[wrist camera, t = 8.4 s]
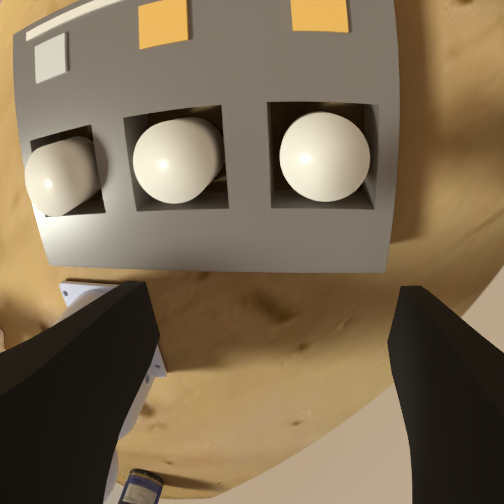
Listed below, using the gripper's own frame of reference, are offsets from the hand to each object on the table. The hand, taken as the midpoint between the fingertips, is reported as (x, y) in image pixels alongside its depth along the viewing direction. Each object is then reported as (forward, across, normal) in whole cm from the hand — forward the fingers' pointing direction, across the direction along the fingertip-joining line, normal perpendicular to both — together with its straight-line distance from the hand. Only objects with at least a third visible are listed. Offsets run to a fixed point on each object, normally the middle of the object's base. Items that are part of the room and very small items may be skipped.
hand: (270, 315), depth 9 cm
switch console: (+10, +5, -5) cm, 13 cm away
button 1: (+10, -2, -3) cm, 11 cm away
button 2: (+9, +12, -3) cm, 15 cm away
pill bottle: (+11, +22, +46) cm, 52 cm away
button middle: (+10, +5, -3) cm, 11 cm away
